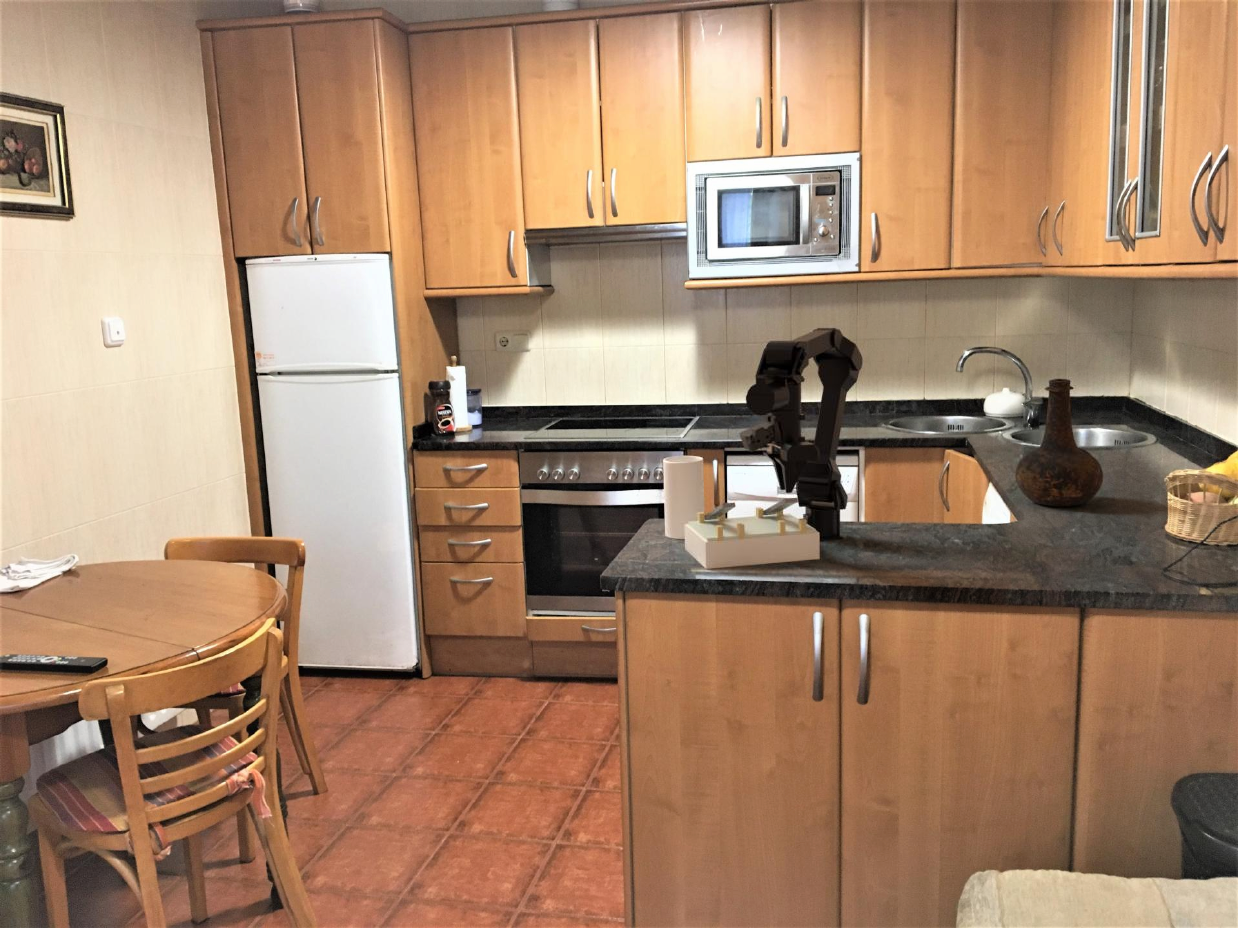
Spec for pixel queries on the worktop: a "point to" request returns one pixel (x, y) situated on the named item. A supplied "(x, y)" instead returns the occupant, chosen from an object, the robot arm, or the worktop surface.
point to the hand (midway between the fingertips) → (786, 491)
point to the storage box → (750, 540)
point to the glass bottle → (1059, 458)
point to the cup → (682, 493)
